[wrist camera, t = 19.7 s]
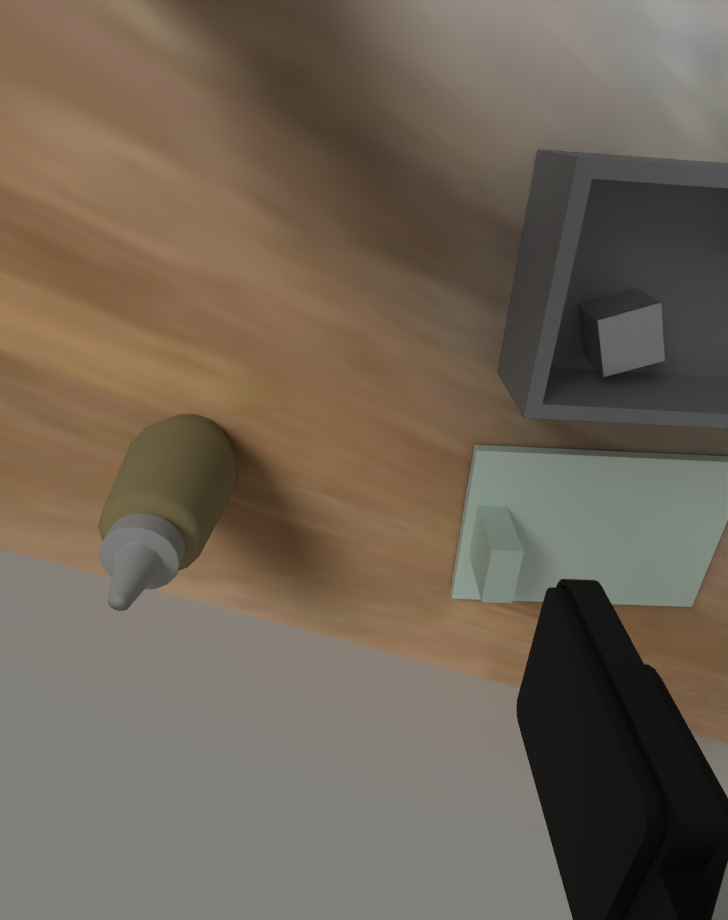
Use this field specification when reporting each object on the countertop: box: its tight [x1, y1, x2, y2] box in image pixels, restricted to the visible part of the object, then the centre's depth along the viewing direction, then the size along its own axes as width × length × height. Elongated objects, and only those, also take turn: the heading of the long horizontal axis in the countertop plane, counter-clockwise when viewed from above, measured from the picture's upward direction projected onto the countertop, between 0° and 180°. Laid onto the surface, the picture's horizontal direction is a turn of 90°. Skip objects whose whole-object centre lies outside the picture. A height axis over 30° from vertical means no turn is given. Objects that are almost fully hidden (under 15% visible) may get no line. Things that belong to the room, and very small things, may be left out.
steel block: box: [578, 288, 665, 377], centre depth 42 cm, size 4×4×4 cm
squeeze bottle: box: [99, 414, 238, 611], centre depth 41 cm, size 8×8×18 cm
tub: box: [498, 150, 728, 428], centre depth 40 cm, size 15×22×8 cm
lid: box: [450, 445, 728, 607], centre depth 51 cm, size 15×22×8 cm
